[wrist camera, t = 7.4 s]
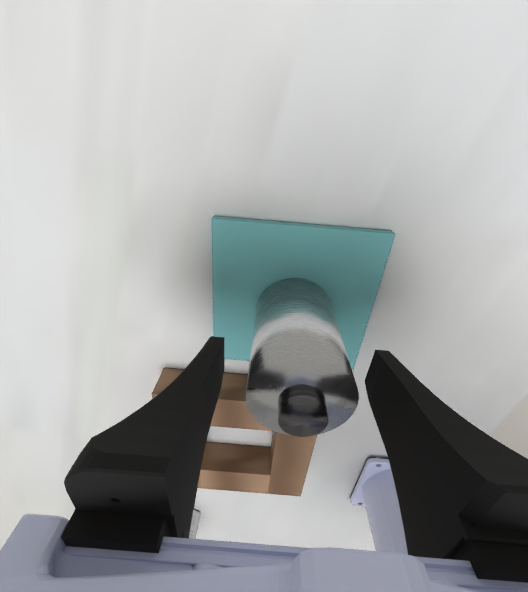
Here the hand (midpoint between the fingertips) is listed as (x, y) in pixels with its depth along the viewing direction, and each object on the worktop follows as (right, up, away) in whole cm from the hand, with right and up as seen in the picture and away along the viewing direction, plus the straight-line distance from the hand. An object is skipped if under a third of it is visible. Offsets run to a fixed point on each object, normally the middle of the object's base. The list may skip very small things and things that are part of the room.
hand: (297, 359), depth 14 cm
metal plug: (0, +2, +5) cm, 5 cm away
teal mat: (0, +3, +5) cm, 6 cm away
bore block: (-4, -8, +11) cm, 14 cm away
